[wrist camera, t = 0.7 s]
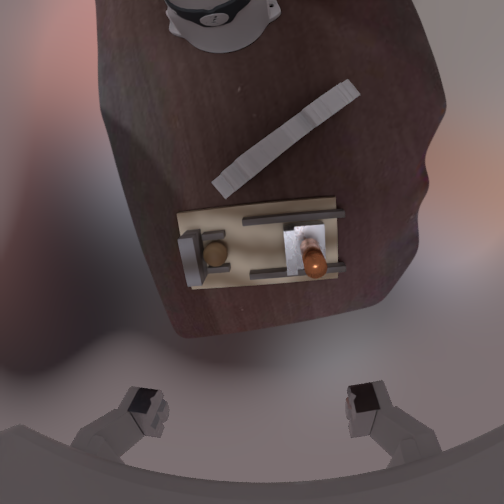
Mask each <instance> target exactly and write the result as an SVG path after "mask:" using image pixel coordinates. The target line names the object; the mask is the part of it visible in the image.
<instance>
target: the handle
mask: <svg viewBox="0 0 504 504" xmlns="http://www.w3.org/2000/svg"><path fill="white" fill-rule="evenodd" d="M283 231H284V242H285V253H286V265H287V276H289V275H298V270H297V269H305V272H306V274H307V275H308V276H309V277H310V278H313V279H317V278H321V277H322V276H324V275H325V274H326V272H327V268H328V267H327V263H326V249H325V226H324V223H323V221H322V220H321V221H309V222H297V223H286V224H283Z"/></svg>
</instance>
